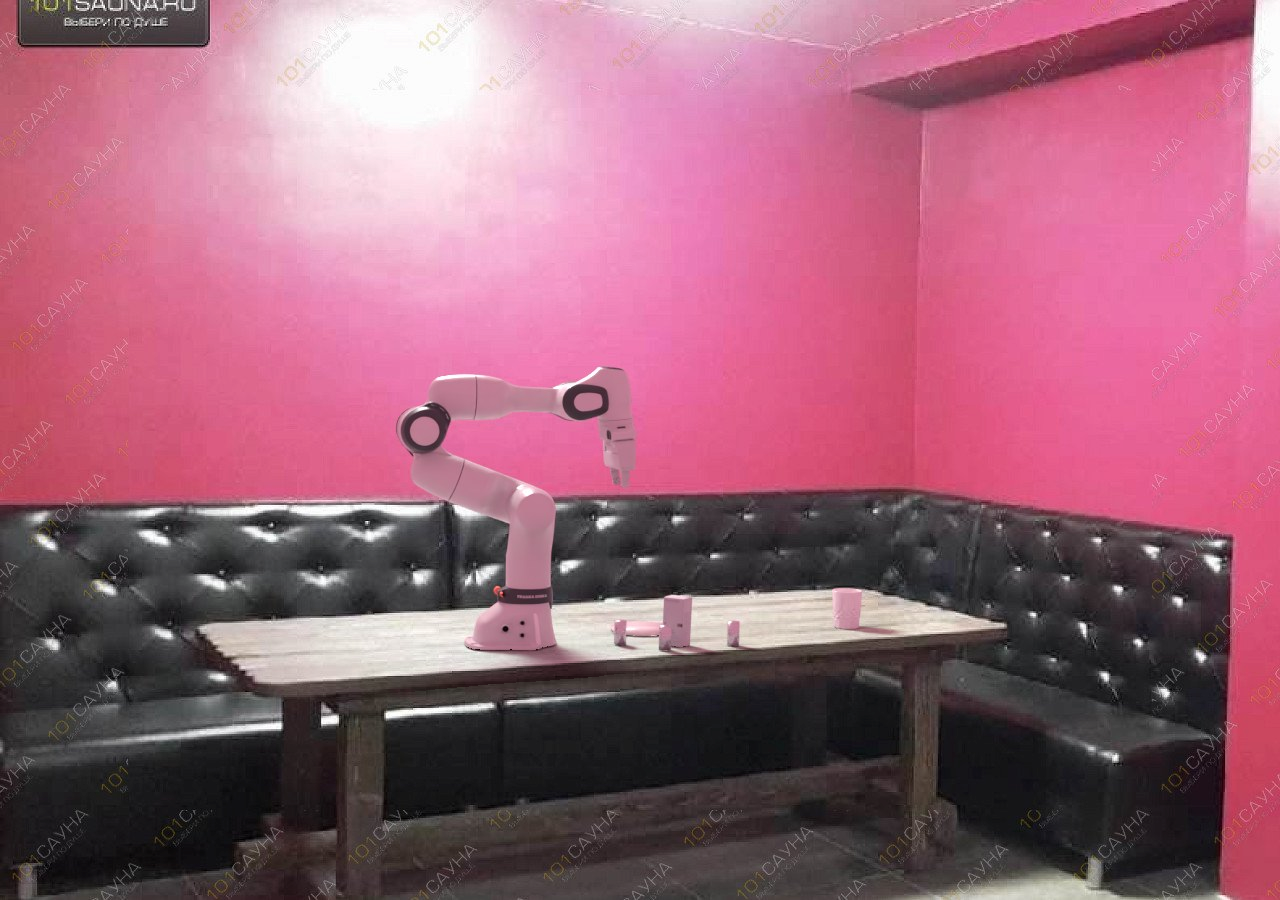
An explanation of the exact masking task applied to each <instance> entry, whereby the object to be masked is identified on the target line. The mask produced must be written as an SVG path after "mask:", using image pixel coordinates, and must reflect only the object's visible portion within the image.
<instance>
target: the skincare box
mask: <svg viewBox="0 0 1280 900" xmlns="http://www.w3.org/2000/svg"><path fill="white" fill-rule="evenodd" d="M692 607H693V597H692V596H691V597H690V596H684V595H677V594H669V595H665V596H664V597H663V612H662V623H663V624H667V625H671V647H674V646H676V647H675V648H684V647H683V646H686V647H688V646H687V645H689V646H690V645H691V633H692V631H691V630H692V629H691V628H692V615H693V614H692V611H693V610H692V609H693V608H692Z"/></svg>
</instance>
